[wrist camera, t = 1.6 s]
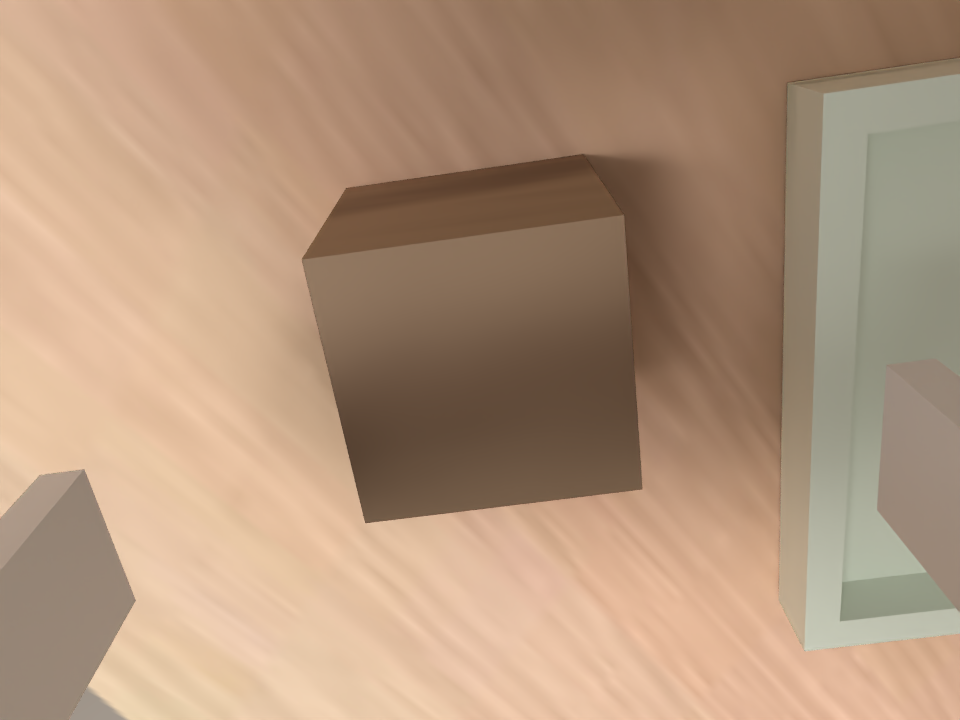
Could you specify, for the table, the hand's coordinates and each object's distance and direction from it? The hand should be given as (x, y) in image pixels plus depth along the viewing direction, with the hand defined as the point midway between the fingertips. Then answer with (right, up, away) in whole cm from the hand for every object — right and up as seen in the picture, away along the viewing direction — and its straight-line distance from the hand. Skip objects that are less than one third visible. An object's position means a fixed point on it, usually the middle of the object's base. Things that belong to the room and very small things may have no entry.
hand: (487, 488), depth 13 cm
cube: (0, +4, +8) cm, 9 cm away
